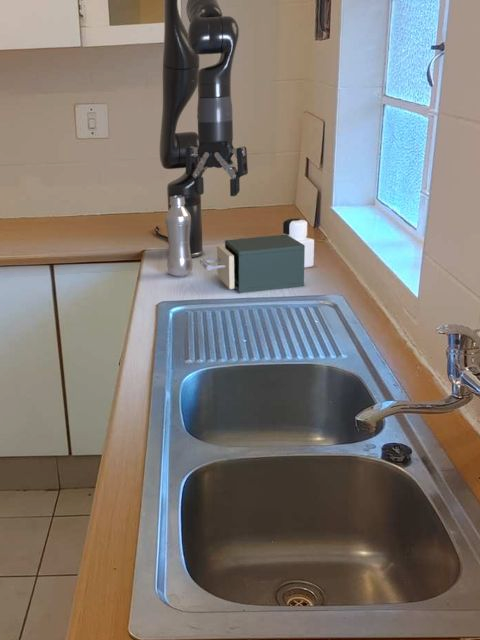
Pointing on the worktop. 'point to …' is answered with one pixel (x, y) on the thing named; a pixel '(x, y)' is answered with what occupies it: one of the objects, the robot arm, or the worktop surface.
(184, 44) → the robot arm
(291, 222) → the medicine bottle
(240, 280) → the cabinet
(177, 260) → the silver metal bottle
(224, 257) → the drawer
